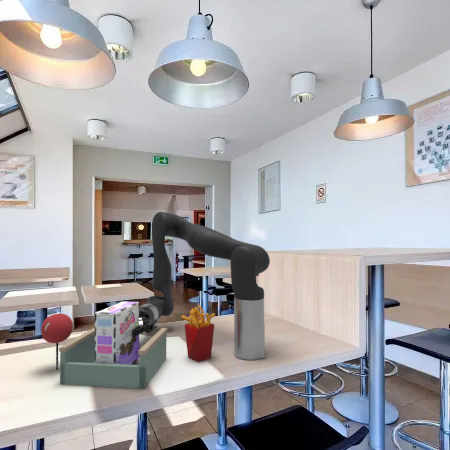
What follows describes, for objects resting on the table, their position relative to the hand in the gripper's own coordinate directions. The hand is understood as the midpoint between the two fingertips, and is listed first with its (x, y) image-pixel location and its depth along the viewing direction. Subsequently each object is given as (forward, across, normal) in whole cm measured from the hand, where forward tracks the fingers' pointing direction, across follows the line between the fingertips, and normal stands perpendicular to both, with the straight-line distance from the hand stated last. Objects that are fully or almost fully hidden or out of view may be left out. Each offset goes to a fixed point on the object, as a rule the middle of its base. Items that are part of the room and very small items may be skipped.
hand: (122, 333), depth 87 cm
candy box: (+2, 0, +9) cm, 9 cm away
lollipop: (+3, -17, +9) cm, 20 cm away
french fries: (-9, +19, +10) cm, 23 cm away
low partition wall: (+2, 0, +9) cm, 10 cm away
